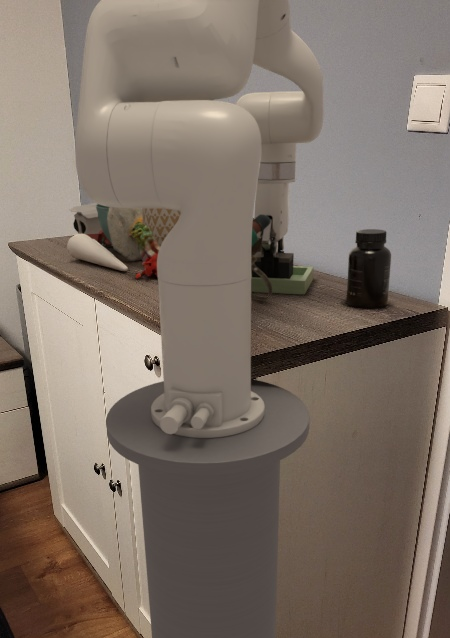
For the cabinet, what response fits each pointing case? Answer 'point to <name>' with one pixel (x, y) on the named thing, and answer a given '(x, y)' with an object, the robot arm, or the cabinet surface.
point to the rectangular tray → (286, 282)
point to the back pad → (284, 265)
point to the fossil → (124, 231)
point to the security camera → (86, 219)
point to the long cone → (93, 252)
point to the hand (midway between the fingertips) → (272, 274)
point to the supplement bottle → (369, 270)
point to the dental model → (100, 238)
